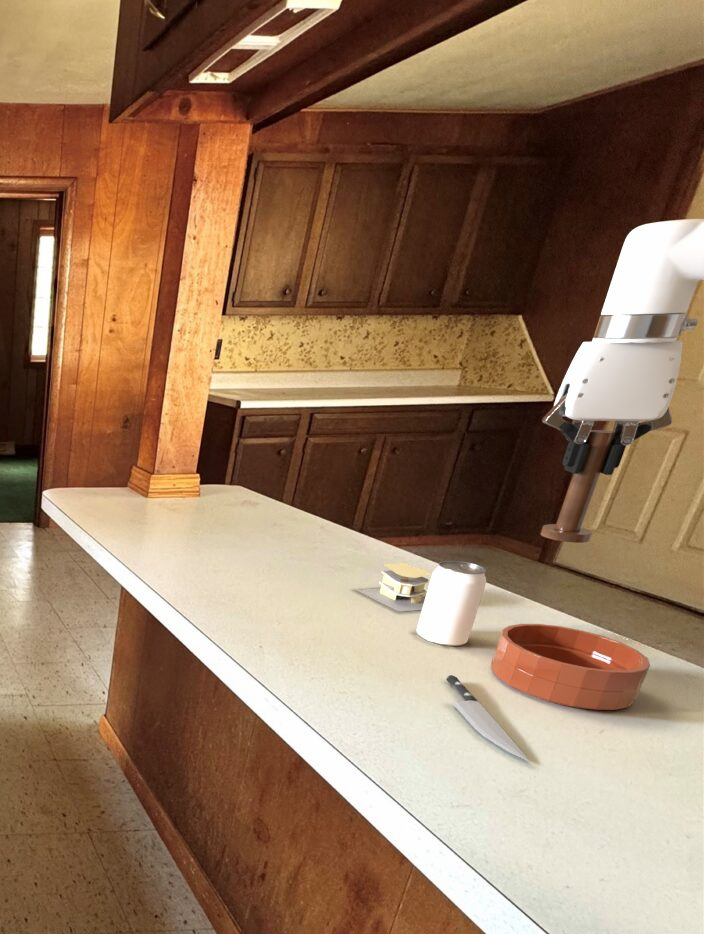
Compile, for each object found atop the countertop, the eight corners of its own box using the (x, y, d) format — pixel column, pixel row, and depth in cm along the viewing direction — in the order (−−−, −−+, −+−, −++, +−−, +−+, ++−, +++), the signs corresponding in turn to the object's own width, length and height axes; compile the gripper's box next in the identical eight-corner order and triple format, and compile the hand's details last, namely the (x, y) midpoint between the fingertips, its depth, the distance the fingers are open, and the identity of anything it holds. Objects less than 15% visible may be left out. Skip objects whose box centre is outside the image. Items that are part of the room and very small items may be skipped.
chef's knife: (497, 761, 76) (529, 763, 75) (499, 752, 76) (531, 755, 75) (428, 678, 93) (453, 680, 92) (429, 671, 92) (455, 672, 92)
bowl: (598, 669, 94) (613, 631, 92) (657, 722, 82) (676, 680, 79) (474, 654, 99) (486, 618, 97) (512, 702, 87) (527, 661, 85)
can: (422, 643, 103) (443, 571, 98) (410, 626, 108) (429, 557, 104) (473, 649, 100) (497, 576, 96) (458, 632, 106) (480, 561, 101)
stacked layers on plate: (355, 590, 123) (362, 562, 121) (400, 586, 124) (407, 559, 122) (398, 611, 114) (406, 582, 112) (446, 608, 114) (455, 578, 112)
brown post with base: (579, 533, 96) (617, 429, 90) (597, 544, 91) (637, 435, 86) (534, 530, 98) (567, 428, 92) (548, 540, 93) (585, 433, 88)
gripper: (705, 327, 84) (651, 469, 91) (542, 331, 91) (503, 464, 97) (745, 328, 78) (683, 481, 85) (567, 332, 84) (523, 475, 91)
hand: (587, 471), depth 91 cm, fingers closed on brown post with base, 2 cm apart
